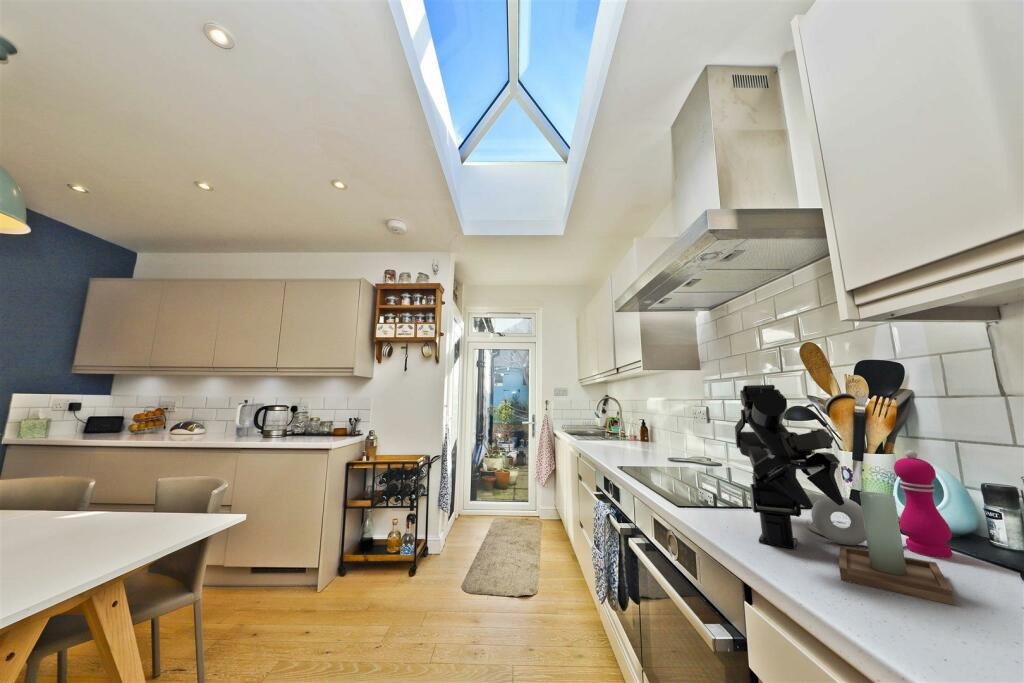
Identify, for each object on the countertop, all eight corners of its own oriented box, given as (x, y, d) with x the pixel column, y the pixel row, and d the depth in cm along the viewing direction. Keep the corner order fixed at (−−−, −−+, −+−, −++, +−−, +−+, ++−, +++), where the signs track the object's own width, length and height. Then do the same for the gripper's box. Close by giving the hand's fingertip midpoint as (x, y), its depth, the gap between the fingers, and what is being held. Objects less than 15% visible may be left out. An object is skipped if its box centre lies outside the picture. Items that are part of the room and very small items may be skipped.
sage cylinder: (863, 563, 68) (852, 491, 71) (891, 564, 68) (880, 492, 70) (884, 574, 64) (872, 497, 66) (915, 576, 63) (902, 497, 65)
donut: (875, 547, 79) (867, 497, 80) (877, 552, 76) (868, 500, 78) (814, 537, 85) (808, 491, 87) (814, 541, 82) (807, 494, 84)
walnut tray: (841, 556, 75) (839, 545, 75) (938, 574, 66) (935, 562, 67) (841, 579, 65) (839, 567, 65) (954, 605, 57) (952, 590, 57)
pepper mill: (900, 542, 81) (884, 447, 84) (951, 550, 77) (931, 449, 80) (906, 553, 76) (888, 451, 79) (961, 562, 71) (939, 453, 74)
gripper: (771, 413, 74) (830, 490, 64) (832, 415, 81) (895, 485, 70) (733, 442, 82) (780, 516, 71) (791, 442, 88) (843, 509, 77)
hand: (826, 506), depth 72 cm, fingers open, 9 cm apart
